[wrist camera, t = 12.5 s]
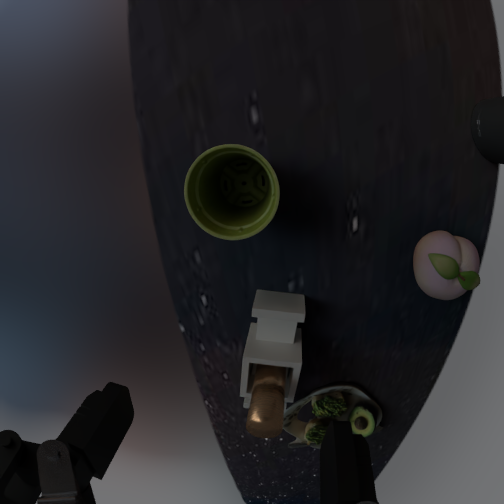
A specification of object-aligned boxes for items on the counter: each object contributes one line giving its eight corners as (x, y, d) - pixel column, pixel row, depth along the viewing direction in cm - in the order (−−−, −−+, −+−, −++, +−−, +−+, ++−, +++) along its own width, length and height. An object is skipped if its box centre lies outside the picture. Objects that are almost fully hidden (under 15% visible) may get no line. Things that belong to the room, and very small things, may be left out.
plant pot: (214, 225, 40) (195, 246, 32) (200, 153, 37) (175, 155, 29) (287, 214, 38) (286, 233, 30) (275, 139, 35) (270, 136, 27)
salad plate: (312, 455, 54) (312, 472, 50) (255, 417, 51) (252, 435, 47) (393, 416, 48) (398, 433, 44) (344, 367, 45) (348, 387, 41)
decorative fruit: (392, 272, 39) (416, 308, 29) (411, 215, 36) (445, 236, 27) (444, 286, 38) (475, 320, 29) (464, 233, 36) (503, 258, 26)
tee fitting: (307, 295, 41) (309, 327, 34) (288, 390, 47) (286, 425, 40) (254, 289, 42) (246, 319, 34) (245, 384, 48) (238, 420, 40)
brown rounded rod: (288, 352, 40) (285, 418, 29) (284, 374, 41) (280, 439, 30) (258, 349, 40) (247, 414, 29) (256, 371, 42) (244, 435, 30)
